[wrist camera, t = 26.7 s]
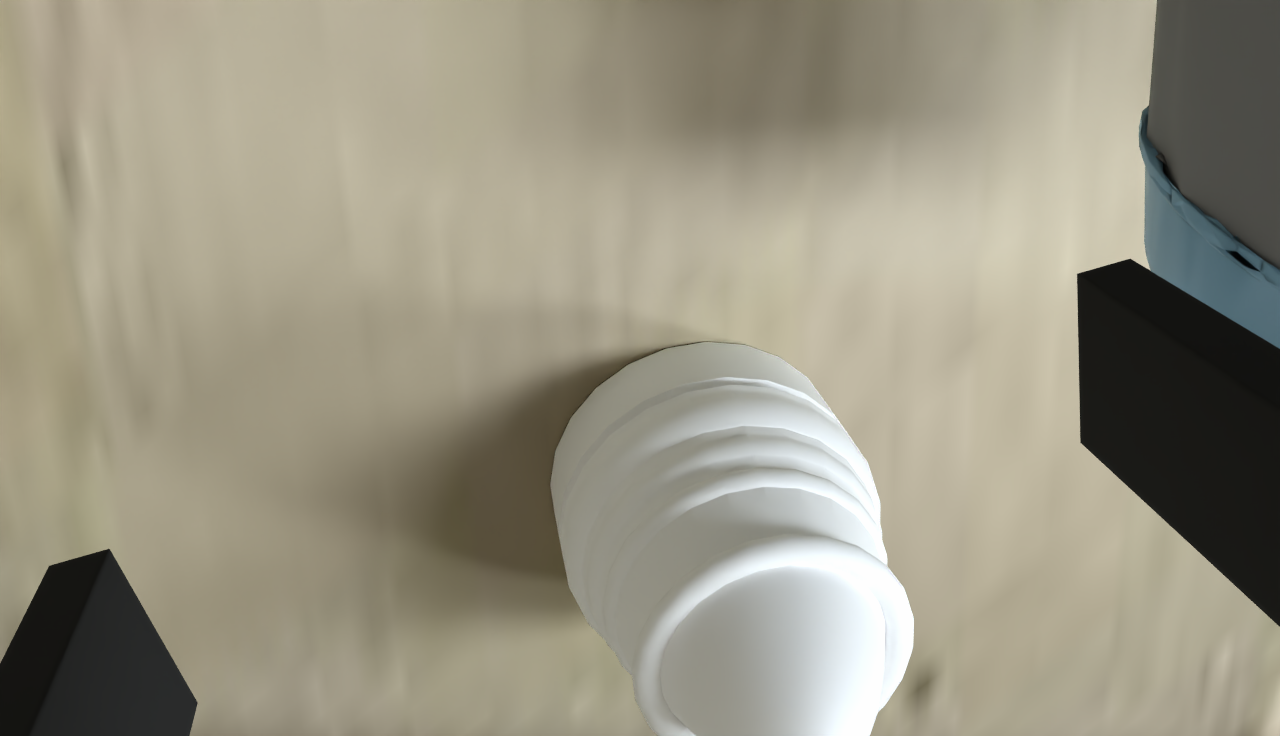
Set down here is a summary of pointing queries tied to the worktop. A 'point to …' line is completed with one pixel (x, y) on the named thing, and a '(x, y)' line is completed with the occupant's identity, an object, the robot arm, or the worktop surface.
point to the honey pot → (730, 547)
